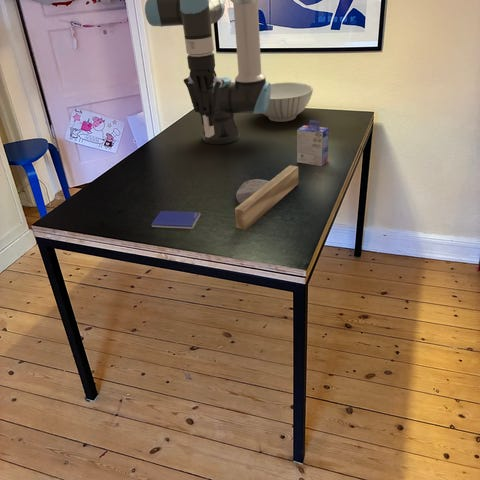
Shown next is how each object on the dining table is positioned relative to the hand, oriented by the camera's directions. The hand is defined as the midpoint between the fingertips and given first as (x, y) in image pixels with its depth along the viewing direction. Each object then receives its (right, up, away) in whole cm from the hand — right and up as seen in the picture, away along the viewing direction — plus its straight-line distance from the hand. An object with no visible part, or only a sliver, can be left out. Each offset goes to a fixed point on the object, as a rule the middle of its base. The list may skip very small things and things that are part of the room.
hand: (209, 135), depth 144 cm
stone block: (+13, -18, +6) cm, 23 cm away
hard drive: (-9, -26, -4) cm, 28 cm away
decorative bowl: (+28, +23, +69) cm, 78 cm away
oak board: (+18, -21, 0) cm, 27 cm away
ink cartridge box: (+35, -4, +25) cm, 43 cm away
